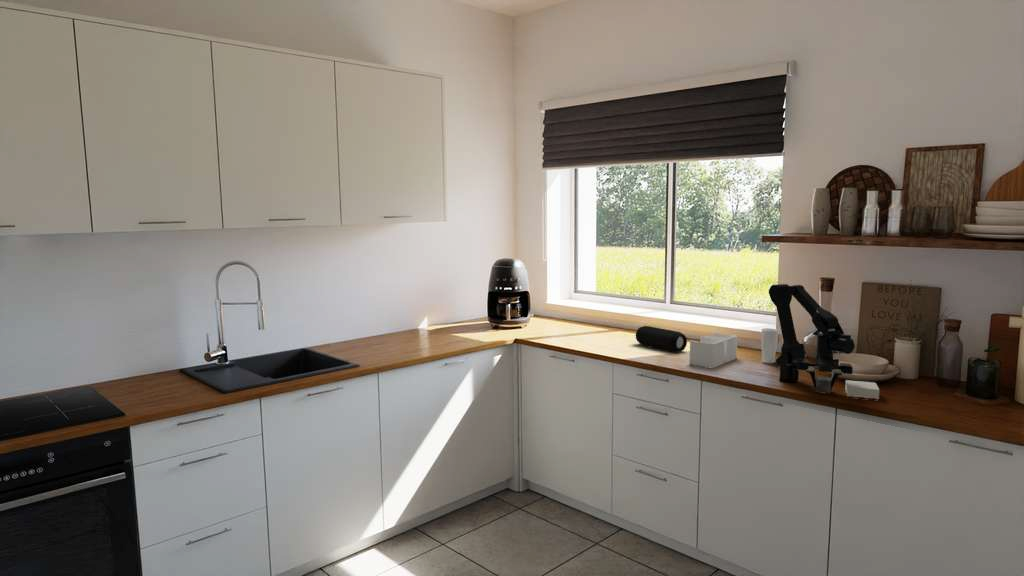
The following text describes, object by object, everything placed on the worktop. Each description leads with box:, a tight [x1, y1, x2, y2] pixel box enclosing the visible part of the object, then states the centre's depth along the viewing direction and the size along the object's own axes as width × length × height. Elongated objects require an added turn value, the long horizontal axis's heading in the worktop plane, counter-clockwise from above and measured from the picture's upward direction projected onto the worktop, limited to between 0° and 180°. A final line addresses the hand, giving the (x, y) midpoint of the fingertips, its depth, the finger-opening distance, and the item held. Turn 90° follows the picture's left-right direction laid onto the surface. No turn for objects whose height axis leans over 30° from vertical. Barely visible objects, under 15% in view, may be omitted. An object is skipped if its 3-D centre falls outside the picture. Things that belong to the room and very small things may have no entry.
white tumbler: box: [760, 327, 779, 365], centre depth 289 cm, size 7×7×15 cm
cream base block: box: [844, 379, 880, 400], centre depth 238 cm, size 10×10×4 cm
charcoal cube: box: [814, 376, 832, 394], centre depth 243 cm, size 5×5×5 cm
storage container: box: [688, 332, 739, 369], centre depth 291 cm, size 25×11×11 cm, turn 138°
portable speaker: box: [635, 325, 688, 353], centre depth 319 cm, size 26×10×10 cm, turn 38°
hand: (822, 388), depth 243 cm, fingers closed on charcoal cube, 5 cm apart
